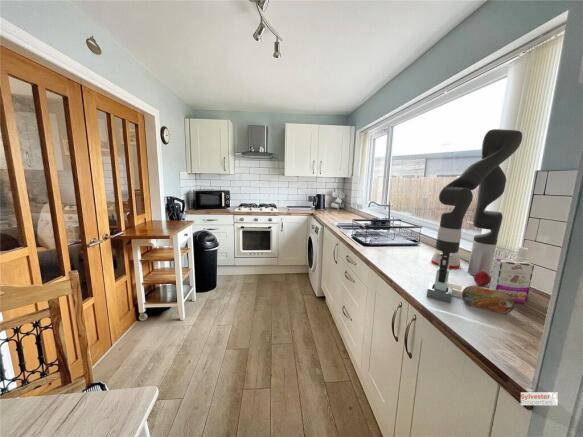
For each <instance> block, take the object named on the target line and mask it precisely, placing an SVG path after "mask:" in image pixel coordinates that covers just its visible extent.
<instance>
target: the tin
mask: <svg viewBox="0 0 583 437" xmlns="http://www.w3.org/2000/svg"><path fill="white" fill-rule="evenodd" d="M461 299H462V300H463V302H464V304H465V305H466V306H468V307H473V308H478V309H481V310H485V311H489V312H494V313H498V314H502V315H507V314H510V313H511V312H512V311H513V310H514V309H515V302H514V301H513V299H512V298H511V297H510V296H509V295H508V294H507V293H505V292H503V291H500V290H495V289H490V287H489V288H488V287H484V286H479V285H468V286H466V287H464V290H463V292H462V298H461Z"/></svg>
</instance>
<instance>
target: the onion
mask: <svg viewBox="0 0 583 437" xmlns="http://www.w3.org/2000/svg"><path fill="white" fill-rule="evenodd" d="M473 280H474V282H475V284H476V285H477V286H479V287H484V286H488V284H489V285H490V283H491V276H490V277H489V275H488V274H487V273H486V272H485V270H482V271H481V272H478V273H476V274H475V275H473Z"/></svg>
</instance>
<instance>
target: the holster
mask: <svg viewBox="0 0 583 437" xmlns="http://www.w3.org/2000/svg"><path fill="white" fill-rule="evenodd" d="M447 286H448V287H452V296H454V297H457V298H461V299H463V298H462V292H463V290H464V289H465V286H464V285H461V284H457V283H452V282H450V281H448V282H447Z"/></svg>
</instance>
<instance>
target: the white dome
mask: <svg viewBox="0 0 583 437" xmlns="http://www.w3.org/2000/svg"><path fill="white" fill-rule="evenodd" d="M440 253H441V254H442V253H443V252H442V251H439V250H437V249H436V248H435V251H434V253H433V255H432V257H431V264H433V265H434V266H436V267H437V266H438V267H439V261H440V259H439V256H440ZM450 255H452V258H451V261H450V265H449V268H448V269H449V270H450V269H451V270H457V269H460V268H461V258H460V254H459V251H458V252H457V253H450Z"/></svg>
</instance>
